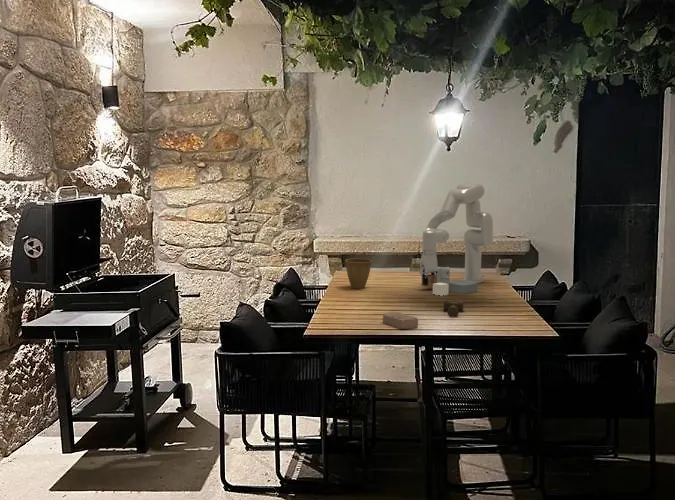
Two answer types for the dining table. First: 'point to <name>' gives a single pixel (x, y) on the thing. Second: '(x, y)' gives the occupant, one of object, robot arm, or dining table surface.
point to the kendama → (453, 307)
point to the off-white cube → (440, 289)
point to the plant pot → (358, 272)
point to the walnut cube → (430, 280)
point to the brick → (400, 320)
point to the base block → (462, 286)
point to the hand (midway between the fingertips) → (429, 283)
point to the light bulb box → (443, 275)
